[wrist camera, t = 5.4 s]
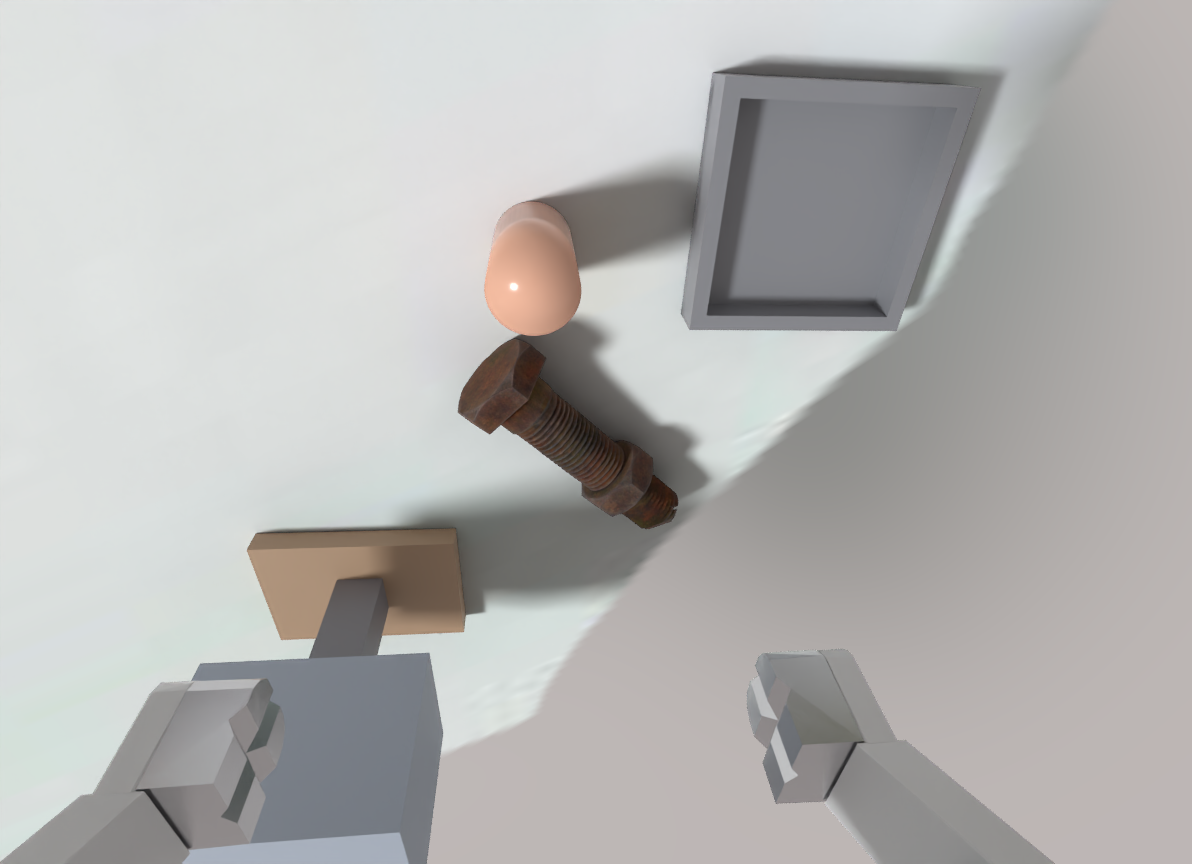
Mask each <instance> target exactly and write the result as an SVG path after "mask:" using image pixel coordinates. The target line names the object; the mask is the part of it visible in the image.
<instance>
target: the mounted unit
mask: <svg viewBox="0 0 1192 864" xmlns="http://www.w3.org/2000/svg"><path fill="white" fill-rule="evenodd" d="M247 552H248V555H249V557H250V560H251V562H252V565H253V568H254V570H255V573H256V575H257V578H258V581H259V583H260V586H261V589H262V591H263V594H264V596H265V599H266V602H267V604H268V607H269V609H270V612H271V615H272V617H273V620H274V622H275V625H276V628H277V630H278V633H279V635H280V638H281V640H291V639H314V638H316V640H315V643H314V645H313V648H312V651H311V654H310V657H309V659H289V660H267V661H246V662H225V663H203V664H200V665H199V667H198V669H197V671H196V673H195V675H194V677H193V679H192V680H191V681H214V680H239V679H263V678H267V679H268V681H269V683H270V685H271V687H272V689H273V693H272V695H271V698H270V701H271V702H273V703H275V704H277V705H278V706H280V707H281V710H282V712H283V715H284V723H285V733H284V740H283V747H282V751H281V754H280V757H279V760H278V763H277V766H276V768H275V769H274V770H273V771H272V772H271V773H270V774H269V775H268V776H267V777H266V778H265V779H264V780H263V781H262V782H261V785H262V788H263V790H264V793H265V796H266V798H265V801H264V804H263V807H262V810H261V813H260V816H259V819H258V821H257V824H256V827H255V830H254V833H253V836H252V839H251V842H250V844H243V845H233V846H224V847H214V848H205V849H195V850H189V852H190V855H189V856H188V857H187V858H186V859H185V860H184V861H183V863H182V864H427V856H428V848H429V840H430V833H431V825H432V817H433V808H434V801H435V793H436V785H437V777H438V769H439V762H440V754H441V746H442V738H443V729H442V723H441V717H440V712H439V706H438V700H437V694H436V689H435V683H434V677H433V671H432V665H431V660H430V654H429V653H417V654H396V655H377V654H378V650H379V646H380V642H381V638H382V636H383V635H406V634H429V633H452V632H464V626H465V617H466V614H465V605H464V597H463V588H462V579H461V570H460V561H459V552H458V544H457V535H456V528H451V529H414V530H377V531H339V532H302V533H265V534H255V536H254V538H253V540H252V541H251V543H250V545H249V547H248V549H247Z"/></svg>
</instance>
